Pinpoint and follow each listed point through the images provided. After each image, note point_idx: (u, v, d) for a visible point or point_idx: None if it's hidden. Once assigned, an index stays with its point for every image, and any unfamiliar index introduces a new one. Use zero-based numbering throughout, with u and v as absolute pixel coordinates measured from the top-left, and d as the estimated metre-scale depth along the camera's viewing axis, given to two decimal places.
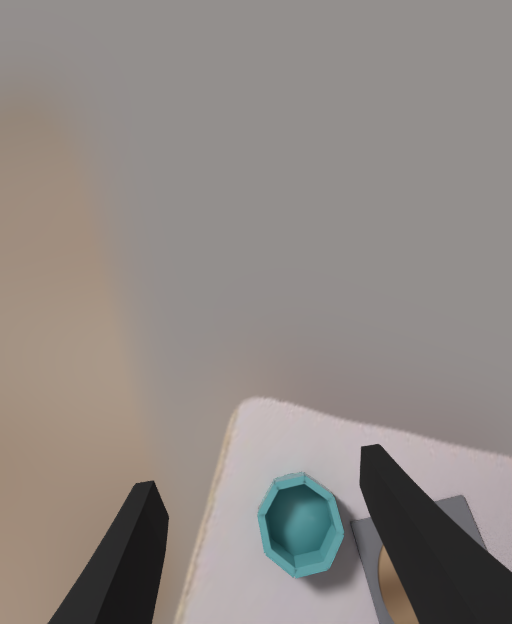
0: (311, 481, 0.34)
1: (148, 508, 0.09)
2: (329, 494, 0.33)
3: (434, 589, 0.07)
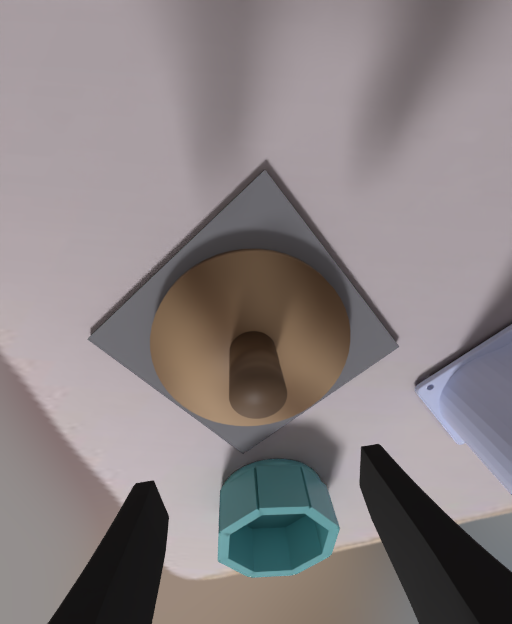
0: (219, 554, 0.22)
1: (148, 508, 0.09)
2: (221, 536, 0.21)
3: (434, 589, 0.07)
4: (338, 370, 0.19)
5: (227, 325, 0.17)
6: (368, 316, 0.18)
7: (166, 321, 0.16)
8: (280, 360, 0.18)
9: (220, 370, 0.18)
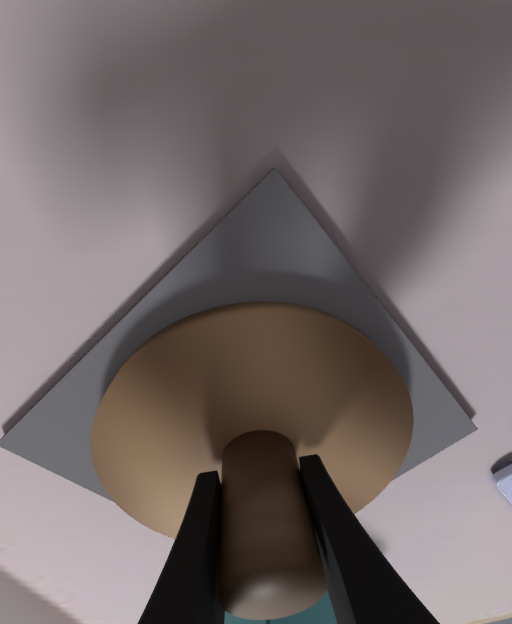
0: None
1: (216, 497, 0.09)
2: None
3: (343, 605, 0.07)
4: (390, 473, 0.12)
5: (216, 424, 0.10)
6: (436, 391, 0.12)
7: (115, 424, 0.10)
8: None
9: None
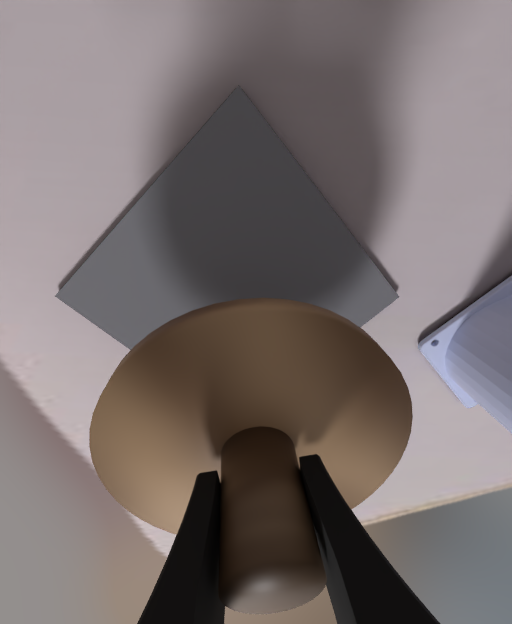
0: None
1: (216, 497, 0.09)
2: None
3: (343, 605, 0.07)
4: (389, 468, 0.12)
5: (215, 421, 0.10)
6: (363, 261, 0.17)
7: (113, 422, 0.10)
8: None
9: None
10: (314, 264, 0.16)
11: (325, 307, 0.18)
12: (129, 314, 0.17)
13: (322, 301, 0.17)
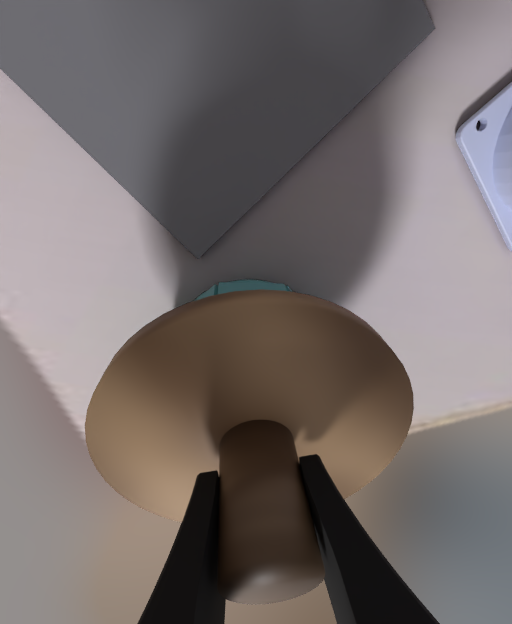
0: None
1: (216, 497, 0.09)
2: None
3: (343, 605, 0.07)
4: (388, 457, 0.12)
5: (213, 415, 0.10)
6: None
7: (109, 417, 0.10)
8: (300, 452, 0.11)
9: (207, 471, 0.11)
10: None
11: (325, 39, 0.12)
12: (21, 22, 0.11)
13: (320, 24, 0.12)
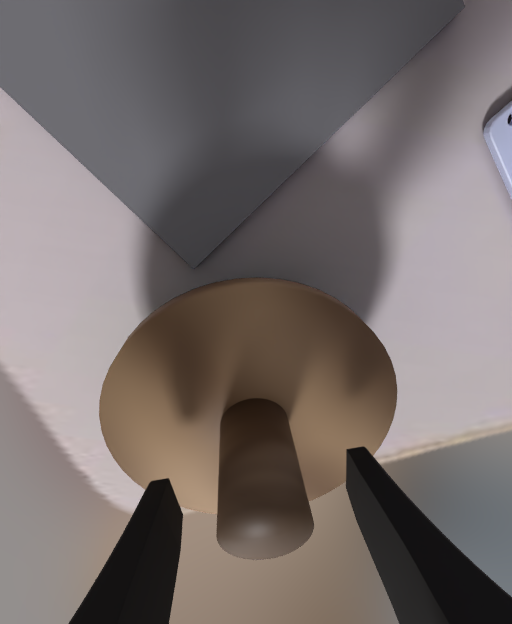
0: None
1: (164, 505, 0.09)
2: None
3: (412, 593, 0.07)
4: (378, 441, 0.13)
5: (214, 393, 0.11)
6: None
7: (121, 392, 0.11)
8: (295, 433, 0.12)
9: (208, 451, 0.12)
10: None
11: (338, 18, 0.10)
12: None
13: (333, 1, 0.10)
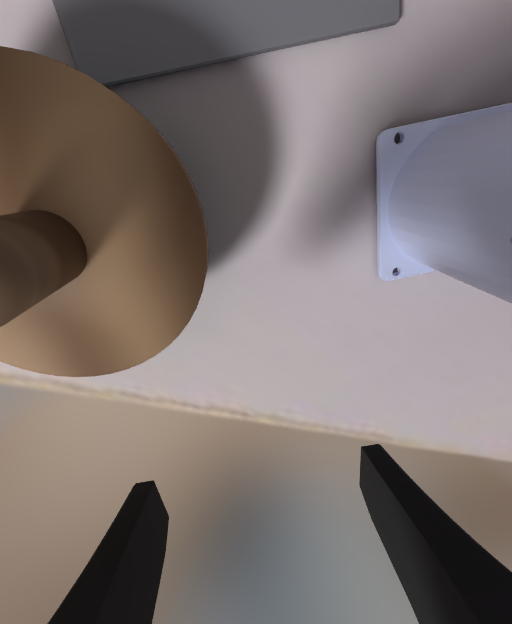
0: None
1: (148, 508, 0.09)
2: None
3: (434, 589, 0.07)
4: (166, 340, 0.13)
5: (18, 182, 0.10)
6: None
7: None
8: (87, 284, 0.12)
9: None
10: None
11: None
12: None
13: None
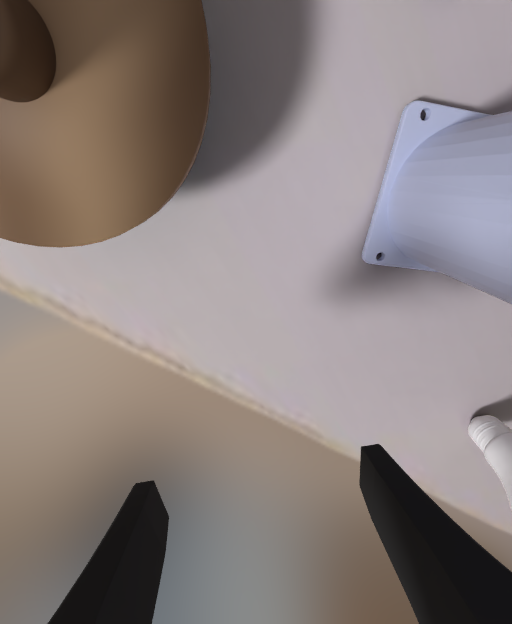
0: None
1: (148, 508, 0.09)
2: None
3: (434, 589, 0.07)
4: (120, 226, 0.11)
5: None
6: None
7: None
8: (43, 116, 0.09)
9: None
10: None
11: None
12: None
13: None
